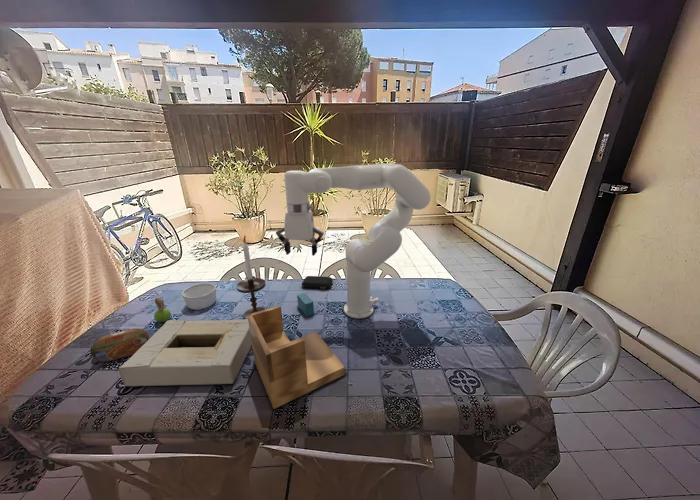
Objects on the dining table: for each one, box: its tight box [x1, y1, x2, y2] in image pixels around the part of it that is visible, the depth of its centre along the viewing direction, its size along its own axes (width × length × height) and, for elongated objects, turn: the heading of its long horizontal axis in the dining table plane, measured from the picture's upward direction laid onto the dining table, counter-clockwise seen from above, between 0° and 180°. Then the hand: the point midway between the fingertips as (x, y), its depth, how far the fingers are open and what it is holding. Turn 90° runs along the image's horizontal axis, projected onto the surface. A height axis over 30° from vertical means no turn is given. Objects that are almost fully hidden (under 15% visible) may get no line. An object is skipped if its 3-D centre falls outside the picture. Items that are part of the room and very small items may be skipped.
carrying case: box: [301, 275, 334, 290], centre depth 136 cm, size 11×3×15 cm
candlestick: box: [236, 234, 267, 319], centre depth 106 cm, size 11×11×35 cm
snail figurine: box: [153, 296, 171, 323], centre depth 106 cm, size 5×6×12 cm
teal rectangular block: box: [296, 292, 315, 317], centre depth 114 cm, size 4×9×6 cm, turn 32°
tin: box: [89, 328, 150, 362], centre depth 90 cm, size 15×3×8 cm, turn 117°
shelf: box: [247, 304, 346, 410], centre depth 82 cm, size 22×20×18 cm
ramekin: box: [181, 282, 217, 311], centre depth 120 cm, size 13×13×7 cm
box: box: [118, 318, 252, 387], centre depth 88 cm, size 23×8×32 cm
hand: (301, 253), depth 100 cm, fingers open, 9 cm apart
